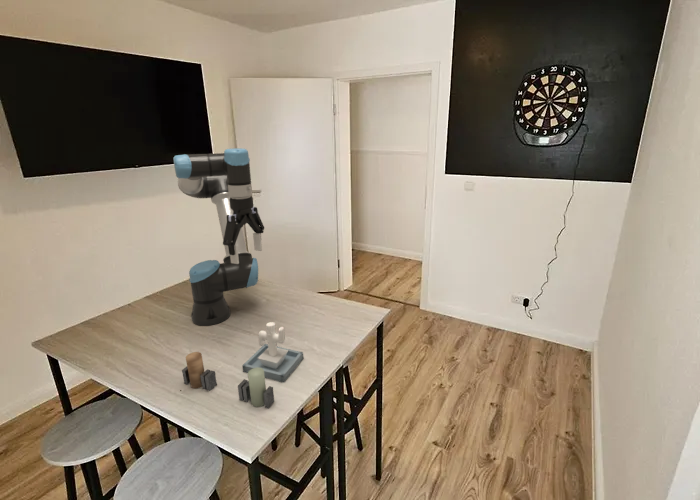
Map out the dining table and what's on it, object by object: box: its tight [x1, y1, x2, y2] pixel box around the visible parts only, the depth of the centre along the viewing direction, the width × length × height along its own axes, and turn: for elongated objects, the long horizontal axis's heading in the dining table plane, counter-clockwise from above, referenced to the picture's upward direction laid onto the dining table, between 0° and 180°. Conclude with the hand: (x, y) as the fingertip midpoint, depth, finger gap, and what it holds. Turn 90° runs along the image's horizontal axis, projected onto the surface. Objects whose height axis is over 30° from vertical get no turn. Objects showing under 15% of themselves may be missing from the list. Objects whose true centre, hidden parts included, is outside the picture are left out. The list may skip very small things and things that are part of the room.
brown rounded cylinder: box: [185, 351, 205, 390], centre depth 111 cm, size 4×4×10 cm
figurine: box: [258, 321, 288, 369], centre depth 118 cm, size 7×9×15 cm
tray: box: [242, 343, 304, 383], centre depth 120 cm, size 15×13×2 cm
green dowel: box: [247, 368, 267, 408], centre depth 103 cm, size 4×4×10 cm
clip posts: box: [181, 365, 275, 409], centre depth 108 cm, size 30×3×5 cm, turn 69°
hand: (247, 256), depth 128 cm, fingers open, 13 cm apart
